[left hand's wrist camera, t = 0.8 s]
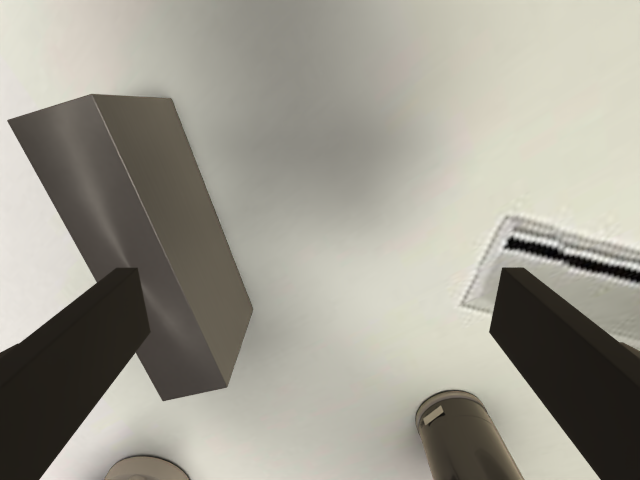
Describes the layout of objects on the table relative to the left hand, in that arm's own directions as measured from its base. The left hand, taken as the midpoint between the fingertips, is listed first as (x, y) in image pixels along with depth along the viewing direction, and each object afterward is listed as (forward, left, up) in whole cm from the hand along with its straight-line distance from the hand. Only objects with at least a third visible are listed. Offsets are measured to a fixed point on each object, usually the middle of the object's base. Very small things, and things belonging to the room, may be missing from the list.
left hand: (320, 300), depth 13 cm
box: (+9, -12, -25) cm, 29 cm away
